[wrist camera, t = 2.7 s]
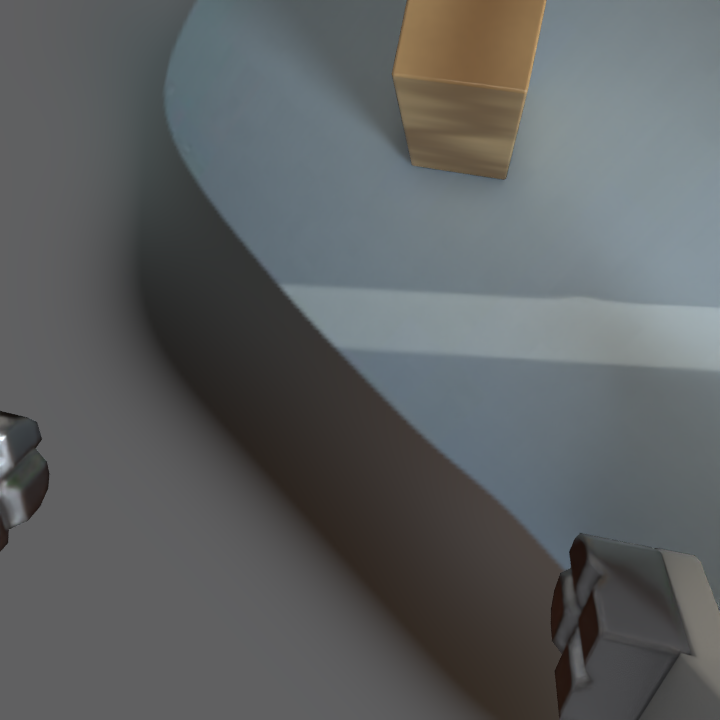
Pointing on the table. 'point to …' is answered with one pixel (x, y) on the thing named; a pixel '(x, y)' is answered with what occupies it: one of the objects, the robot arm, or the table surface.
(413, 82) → the peg
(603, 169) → the table surface
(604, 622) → the robot arm
